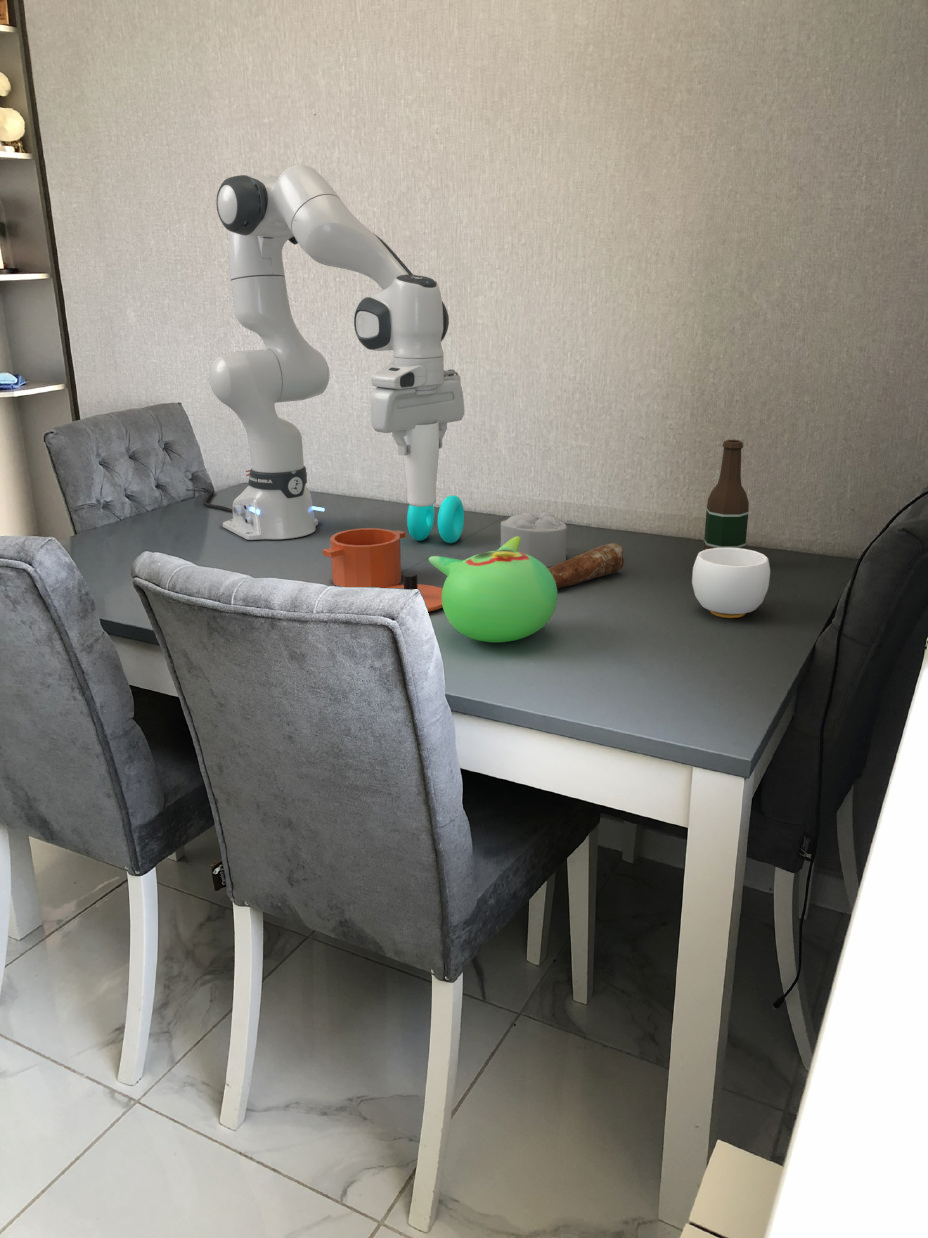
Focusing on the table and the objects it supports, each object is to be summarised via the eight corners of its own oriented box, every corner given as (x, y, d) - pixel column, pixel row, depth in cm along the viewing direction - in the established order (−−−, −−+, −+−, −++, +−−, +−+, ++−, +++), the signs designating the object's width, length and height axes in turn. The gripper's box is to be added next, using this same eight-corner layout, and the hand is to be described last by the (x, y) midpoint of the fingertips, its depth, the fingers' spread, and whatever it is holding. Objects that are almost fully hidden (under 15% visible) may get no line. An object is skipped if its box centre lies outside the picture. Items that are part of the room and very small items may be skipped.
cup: (753, 630, 153) (759, 572, 150) (679, 617, 159) (683, 560, 156) (775, 607, 163) (780, 552, 160) (704, 596, 169) (708, 542, 166)
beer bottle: (746, 562, 188) (758, 438, 179) (739, 573, 181) (751, 445, 173) (706, 558, 191) (716, 436, 182) (698, 569, 184) (707, 442, 176)
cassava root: (626, 574, 181) (628, 546, 179) (552, 595, 170) (552, 565, 168) (602, 567, 186) (603, 539, 184) (528, 587, 175) (528, 557, 173)
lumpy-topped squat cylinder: (525, 547, 200) (525, 506, 197) (577, 558, 192) (579, 515, 189) (493, 558, 192) (493, 516, 189) (547, 570, 184) (548, 526, 181)
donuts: (450, 549, 199) (450, 501, 195) (405, 545, 202) (404, 498, 199) (466, 537, 208) (465, 491, 204) (422, 533, 211) (421, 488, 207)
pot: (307, 585, 177) (304, 540, 175) (381, 564, 190) (379, 522, 187) (352, 600, 169) (349, 553, 166) (425, 577, 181) (424, 533, 178)
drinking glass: (435, 509, 174) (434, 425, 169) (399, 507, 176) (396, 424, 170) (443, 500, 181) (442, 419, 175) (408, 498, 182) (406, 418, 177)
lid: (354, 604, 167) (353, 575, 166) (412, 585, 177) (411, 558, 175) (409, 622, 158) (408, 592, 157) (467, 602, 168) (467, 573, 166)
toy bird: (467, 665, 141) (466, 569, 136) (425, 628, 156) (422, 540, 151) (574, 645, 148) (577, 553, 143) (524, 612, 163) (525, 527, 157)
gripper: (447, 367, 179) (447, 441, 184) (363, 377, 165) (366, 457, 170) (472, 369, 175) (472, 445, 180) (388, 379, 161) (391, 462, 166)
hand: (420, 451), depth 175 cm, fingers closed on drinking glass, 7 cm apart
